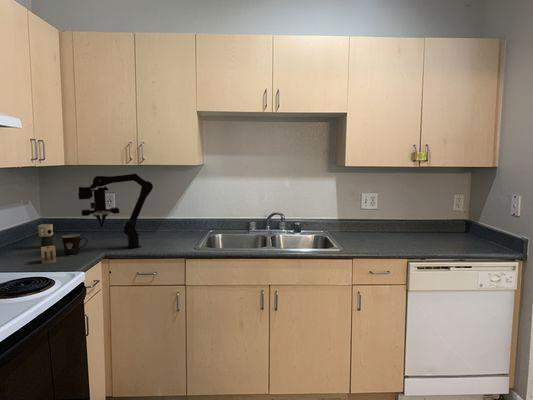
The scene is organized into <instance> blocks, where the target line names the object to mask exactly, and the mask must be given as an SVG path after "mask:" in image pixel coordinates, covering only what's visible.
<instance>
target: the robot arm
mask: <svg viewBox="0 0 533 400" xmlns="http://www.w3.org/2000/svg"><path fill="white" fill-rule="evenodd" d="M130 181H131V182H132V181H133V182H135V183H137V184H138V186H140V191H139V196H138V198H137V201H136V202H135V205H134V206H133V207H134V208H133V210H132V212H131V214H130V217H129V218H128V220H127V219H125V221H124V224H123V225H122V229H123V233H124V234H125V235H126V236H127V240H126V241H127V245H126V246H125V248H127V249H131V250H133V249H137V248H138V249H139V248H141V247H142V245H140V241H139V240H140V239H139V237H140V236H139V232H138V230H137V229H136V226H137V220H138V218H139V215H140V214H141V211H142V209H143V206H144V204H145V201H146V199H147V197H148V196H149V195H150V193H151V192H152V190H153V188H154V185H153V184H152V182H150V181H149V180H146V179H143V178H142V177H141V176H140V175H138V174H137V173H135V172H134V173H128V174H120V175H112V176H110V175H95V176H94V178H93V180H92V184H91V185H90V186H78V194H77V195H78V200H80V201H81V200H91V198H93V202H90V203H89V204H90V209H89V208H87V209H85V208H84V209H81V211H80V212H81V214H80V215H81V216H83V217H87V216H90V215H92V216H93V217H95V218H96V219H97V221H98V224H99V226H100V228H102V227H103V226H104V223H105V220H106V218H107V217H108V216H109V213H112V214H114V215H115V214H120V208H118V207H117V206H115V207H110V208H109V209H107V205H106V204H107V201H106V191H109V188H108V187H107V185H110V184H116V183H123V182H130ZM96 188H97V189H96ZM92 209H93V210H92ZM100 214H101V215H100Z"/></svg>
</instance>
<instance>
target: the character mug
mask: <svg viewBox="0 0 533 400" xmlns="http://www.w3.org/2000/svg"><path fill="white" fill-rule="evenodd" d="M37 228H38V236H39V237H40V238H41V239H40V248H41V247H47V246H54V241H53V238H52V236H53V235H54V232H53V230H54V227H53V224H52V223H44V224H43V223H42V224H39V225H37Z"/></svg>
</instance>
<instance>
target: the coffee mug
mask: <svg viewBox="0 0 533 400" xmlns="http://www.w3.org/2000/svg"><path fill="white" fill-rule="evenodd" d="M61 239H62V245H63V250H64V253H65V254H64V255H65V256H66V255H74V256H77V255H76V254H78V255H79V254H80V250H81V248H83V247H85V246H86V245H87V244H88V241H89V240H88V238H86V237H81V234H79V233H72V234H65V235H62V236H61ZM81 240H86V242H85V244H83V245H81V246H80V242H81Z"/></svg>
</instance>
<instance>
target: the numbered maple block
mask: <svg viewBox="0 0 533 400" xmlns="http://www.w3.org/2000/svg"><path fill="white" fill-rule="evenodd" d="M40 254H41V263H42V264H43V265H44V264H50V262H51V263H56V262H57V254H56V245H52V246H47V247H41V246H40Z"/></svg>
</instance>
